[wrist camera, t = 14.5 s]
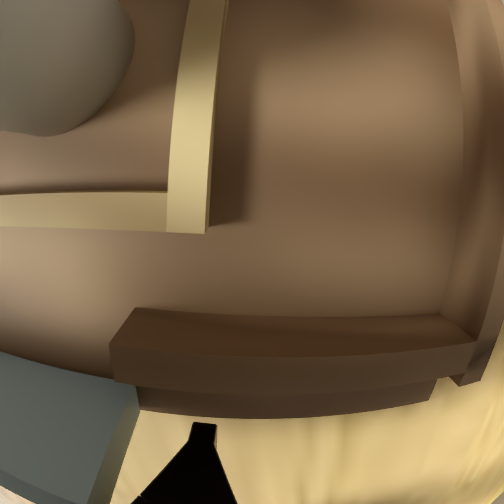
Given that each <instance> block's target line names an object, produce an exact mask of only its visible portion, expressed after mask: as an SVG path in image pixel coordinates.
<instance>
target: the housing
mask: <svg viewBox="0 0 504 504" xmlns="http://www.w3.org/2000/svg"><path fill="white" fill-rule="evenodd" d="M118 1H119V2H120V4H121V5H122V7H123V8H124V9H125V11H126V12H127V14H128V16H129V17H130V19H131V21H132V24H133V28H134V34H135V43H134V50H133V54H132V58H131V61H130V64H129V67H128V69H127V72H126V73H125V75H124V78H123V80H122V81H121V83H120V84H119V86H118V88H117V89H116V91H115V92H114V93H113V95H112V96H111V97H110V99H109V100H108V101H107V102H106V103H105V104H104V105H103V107H102V108H101V109H100V110H98V111H97V112H96V113H95V114H94V115H93V116H92V117H91V118H89V119H88V120H87V121H86V122H84V123H82V124H81V125H79V126H78V127H76V128H74V129H72V130H70V131H68V132H66V133H63V134H60V135H56V136H50V137H41V136H34V135H28V134H21V133H15V132H8V131H1V130H0V351H1V352H4V353H7V354H10V355H14V356H17V357H20V358H23V359H27V360H30V361H34V362H37V363H41V364H45V365H48V366H52V367H56V368H60V369H64V370H69V371H73V372H78V373H82V374H87V375H92V376H97V377H102V378H108V379H113V380H115V382H117V383H123V384H129V385H135V386H136V392H137V398H138V403H139V408H140V410H146V411H153V412H160V413H169V414H178V415H188V416H200V417H215V418H239V419H281V418H305V417H320V416H332V415H342V414H351V413H359V412H367V411H374V410H380V409H387V408H393V407H398V406H403V405H409V404H414V403H418V402H423V401H427V400H429V398H430V396H431V393H432V391H433V389H434V386H435V384H436V381H437V379H438V378H443V377H448V376H449V377H450V378H451V379H452V380H453V381H454V382H455V383H456V384H457V385H458V386H459V387H460V386H463V385H467V384H471V383H474V382H478V381H480V380H481V377H482V375H483V373H484V371H485V368H486V366H487V363H488V361H489V359H490V356H491V353H492V351H493V348H494V346H495V343H496V340H497V337H498V334H499V331H500V329H501V325H502V322H503V319H504V5H503V2H502V0H118Z"/></svg>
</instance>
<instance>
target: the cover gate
mask: <svg viewBox="0 0 504 504" xmlns="http://www.w3.org/2000/svg"><path fill="white" fill-rule="evenodd" d="M139 414H140V408H139V403H138V398H137V392H136V386H135V385H129V384H123V383H117V382H115V380H113V379H108V378H102V377H97V376H92V375H87V374H82V373H78V372H73V371H69V370H64V369H60V368H56V367H52V366H48V365H45V364H41V363H37V362H34V361H30V360H27V359H23V358H20V357H17V356H14V355H10V354H7V353H4V352H1V351H0V485H1V486H3V487H4V488H6V489H8V490H10V491H12V492H13V493H15V494H17V495H19V496H21V497H23V498H25V499H27V500H29V501H31V502H34V503H36V504H110V501H111V498H112V494H113V491H114V488H115V485H116V482H117V478H118V475H119V472H120V469H121V466H122V463H123V460H124V457H125V454H126V451H127V448H128V445H129V442H130V439H131V436H132V433H133V431H134V428H135V425H136V422H137V419H138V416H139Z"/></svg>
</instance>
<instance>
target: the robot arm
mask: <svg viewBox="0 0 504 504" xmlns="http://www.w3.org/2000/svg"><path fill="white" fill-rule="evenodd" d="M216 449H217V425H216V424H209V423H200V422H194V423H193V424H192V428H191V431H190V435H189V439H188V441H187V442H186V444H185V445H184V446H183V447H182V448H181V449H180V451H179V452H178V453H177V454H176V455H175V456H174V457H173V459H172V460H171V461H170V462H169V463H168V464H167V465H166V466H165V468H164V469H163V470H162V471H161V472H160V473H159V474H158V475H157V476H156V478H155V479H154V480H153V481H152V482H151V483H150V484H149V485H148V486H147V487H146V488H145V490H144V491H143V492H142V493H141V494H140V496H138V497H137V498H136V499H135V500H134V501H133V502H132V503H131V504H237V501H236V499H235V496H234V494H233V492H232V489H231V487H230V484H229V482H228V479H227V477H226V474H225V471H224V469H223V466H222V464H221V461H220V458H219V456H218V453H217V450H216Z"/></svg>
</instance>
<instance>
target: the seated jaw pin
mask: <svg viewBox="0 0 504 504" xmlns="http://www.w3.org/2000/svg"><path fill="white" fill-rule="evenodd" d="M134 43H135V34H134V28H133V24H132V21H131V19H130V17H129V16H128V14H127V12H126V11H125V9H124V8H123V7H122V5H121V4H120V2H119V1H118V0H0V130H1V131H8V132H15V133H21V134H28V135H34V136H41V137H50V136H56V135H60V134H63V133H66V132H68V131H70V130H72V129H74V128H76V127H78V126H79V125H81V124H82V123H84V122H86V121H87V120H88V119H89V118H91V117H92V116H93V115H94V114H95V113H96V112H97V111H98V110H100V109H101V108H102V107H103V105H104V104H105V103H106V102H107V101H108V100H109V99H110V97H111V96H112V95H113V93H114V92H115V91H116V89H117V88H118V86H119V84H120V83H121V81H122V80H123V78H124V75H125V73H126V72H127V69H128V67H129V64H130V61H131V58H132V54H133V50H134Z"/></svg>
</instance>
